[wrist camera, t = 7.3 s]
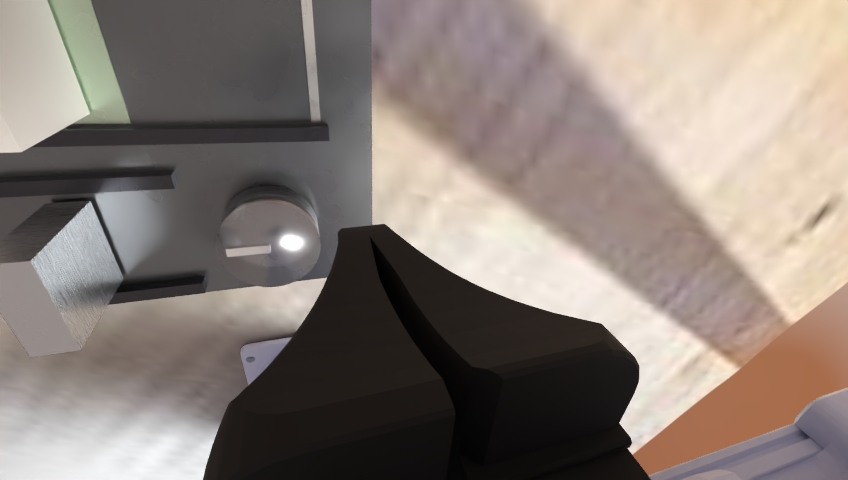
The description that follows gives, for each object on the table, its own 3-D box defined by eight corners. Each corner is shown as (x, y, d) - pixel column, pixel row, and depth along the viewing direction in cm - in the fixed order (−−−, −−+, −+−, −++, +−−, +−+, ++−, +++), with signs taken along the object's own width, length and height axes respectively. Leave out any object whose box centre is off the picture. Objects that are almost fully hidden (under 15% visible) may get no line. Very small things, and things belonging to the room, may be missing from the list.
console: (368, 260, 23) (390, 328, 18) (40, 297, 18) (-46, 400, 14) (365, -80, 15) (402, -120, 10) (-230, -166, 10) (-690, -317, 5)
